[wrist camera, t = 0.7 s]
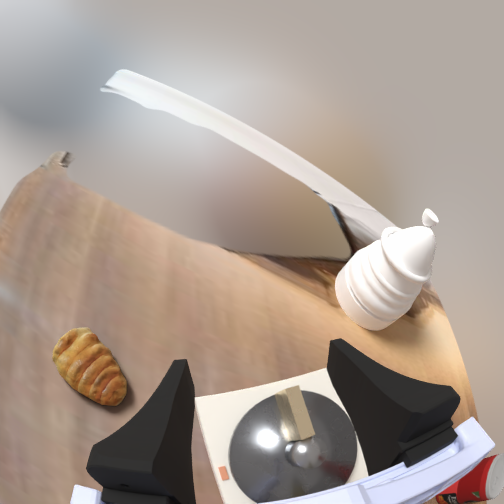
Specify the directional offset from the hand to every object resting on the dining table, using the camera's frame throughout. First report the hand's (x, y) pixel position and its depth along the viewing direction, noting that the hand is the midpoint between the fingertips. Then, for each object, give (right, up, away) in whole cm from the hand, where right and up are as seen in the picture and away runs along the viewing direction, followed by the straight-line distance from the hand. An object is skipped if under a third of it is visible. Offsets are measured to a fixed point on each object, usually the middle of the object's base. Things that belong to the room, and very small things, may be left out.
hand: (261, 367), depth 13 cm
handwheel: (+4, -16, +11) cm, 20 cm away
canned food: (+32, -33, +10) cm, 47 cm away
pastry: (-19, -8, +13) cm, 24 cm away
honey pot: (+19, -2, +31) cm, 36 cm away
